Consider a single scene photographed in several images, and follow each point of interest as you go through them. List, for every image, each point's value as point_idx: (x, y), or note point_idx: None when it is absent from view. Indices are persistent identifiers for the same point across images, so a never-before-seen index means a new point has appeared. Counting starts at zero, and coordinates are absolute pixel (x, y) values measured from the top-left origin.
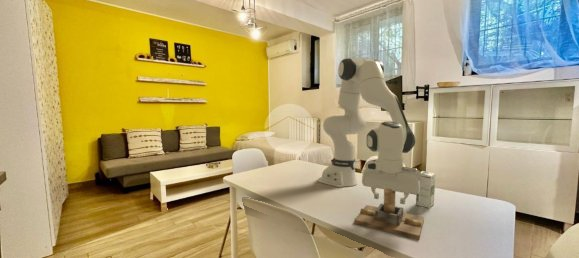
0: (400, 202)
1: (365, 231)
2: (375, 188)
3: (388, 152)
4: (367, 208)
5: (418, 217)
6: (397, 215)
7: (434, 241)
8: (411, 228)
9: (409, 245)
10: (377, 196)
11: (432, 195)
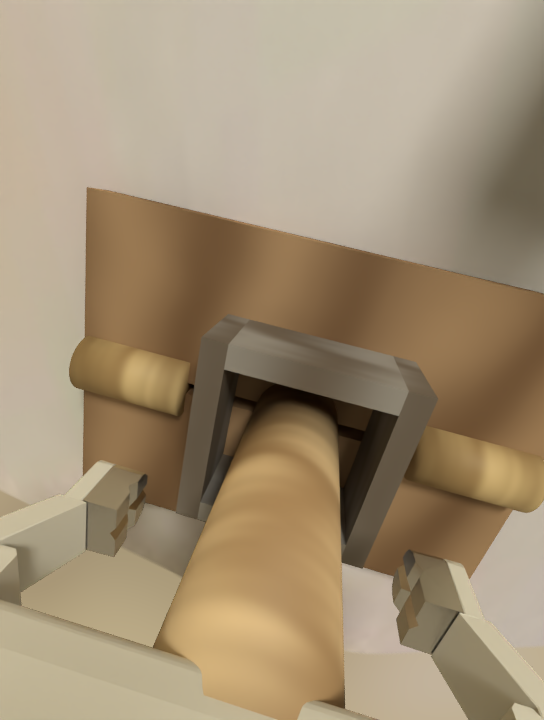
0: (396, 601)
1: (173, 534)
2: (8, 599)
3: None
4: (114, 275)
5: None
6: (347, 560)
7: (537, 573)
8: (433, 530)
9: (383, 614)
10: (121, 537)
11: None
